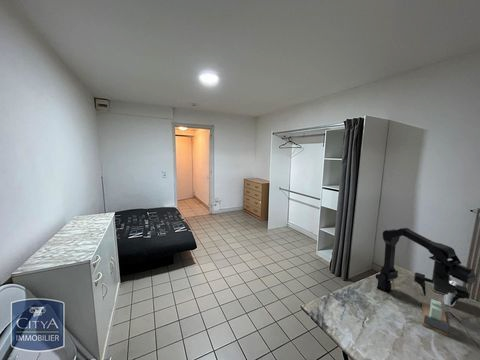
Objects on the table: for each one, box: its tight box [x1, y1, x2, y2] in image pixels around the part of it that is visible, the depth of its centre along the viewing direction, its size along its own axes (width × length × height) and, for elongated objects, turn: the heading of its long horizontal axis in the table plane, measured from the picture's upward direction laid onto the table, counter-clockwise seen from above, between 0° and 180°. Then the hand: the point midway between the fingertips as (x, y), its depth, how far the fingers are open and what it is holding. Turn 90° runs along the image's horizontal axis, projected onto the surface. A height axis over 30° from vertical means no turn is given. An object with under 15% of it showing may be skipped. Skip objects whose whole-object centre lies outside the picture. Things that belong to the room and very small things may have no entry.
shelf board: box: [421, 300, 449, 337], centre depth 101 cm, size 9×20×1 cm, turn 137°
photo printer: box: [443, 280, 459, 307], centre depth 111 cm, size 10×4×12 cm, turn 123°
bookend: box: [424, 315, 449, 333], centre depth 94 cm, size 8×1×4 cm, turn 47°
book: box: [429, 298, 443, 321], centre depth 97 cm, size 4×8×9 cm, turn 137°
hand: (437, 299), depth 96 cm, fingers open, 9 cm apart
